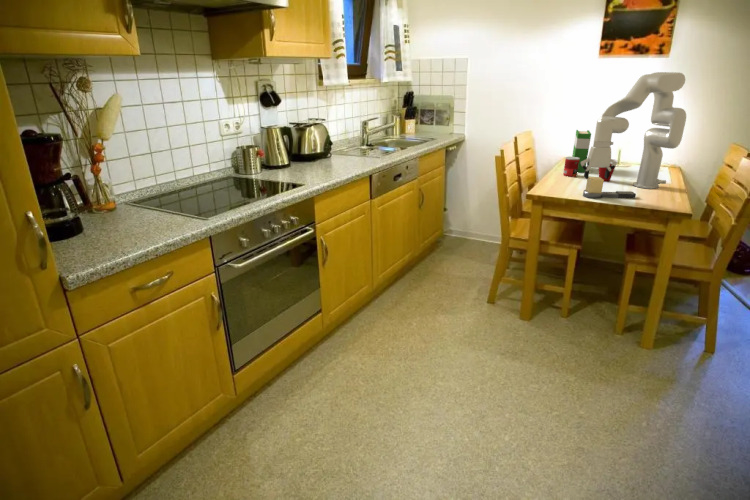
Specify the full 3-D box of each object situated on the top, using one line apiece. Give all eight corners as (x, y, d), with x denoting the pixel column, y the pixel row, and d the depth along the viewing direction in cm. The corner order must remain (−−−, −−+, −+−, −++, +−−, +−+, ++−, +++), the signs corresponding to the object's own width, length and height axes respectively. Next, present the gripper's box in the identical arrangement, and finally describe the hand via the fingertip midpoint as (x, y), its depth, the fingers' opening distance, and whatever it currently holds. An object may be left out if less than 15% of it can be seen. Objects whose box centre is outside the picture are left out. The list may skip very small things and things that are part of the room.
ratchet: (585, 198, 230) (588, 186, 227) (580, 193, 238) (582, 181, 236) (636, 199, 227) (639, 187, 225) (629, 194, 235) (632, 182, 233)
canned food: (575, 177, 272) (577, 159, 268) (561, 175, 277) (564, 158, 273) (578, 175, 278) (581, 157, 274) (565, 173, 282) (567, 156, 278)
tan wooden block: (597, 190, 235) (599, 177, 232) (601, 193, 229) (603, 179, 227) (585, 190, 236) (587, 176, 233) (589, 193, 230) (591, 179, 227)
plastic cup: (590, 180, 265) (594, 160, 260) (598, 177, 272) (601, 157, 267) (610, 183, 257) (614, 162, 253) (617, 180, 264) (621, 160, 260)
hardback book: (570, 166, 301) (576, 129, 292) (582, 167, 299) (588, 130, 290) (572, 172, 286) (578, 133, 277) (584, 172, 284) (591, 134, 275)
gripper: (617, 143, 226) (611, 176, 232) (581, 143, 228) (576, 176, 234) (623, 145, 219) (616, 180, 226) (585, 145, 221) (580, 180, 228)
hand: (596, 178), depth 230 cm, fingers open, 9 cm apart
